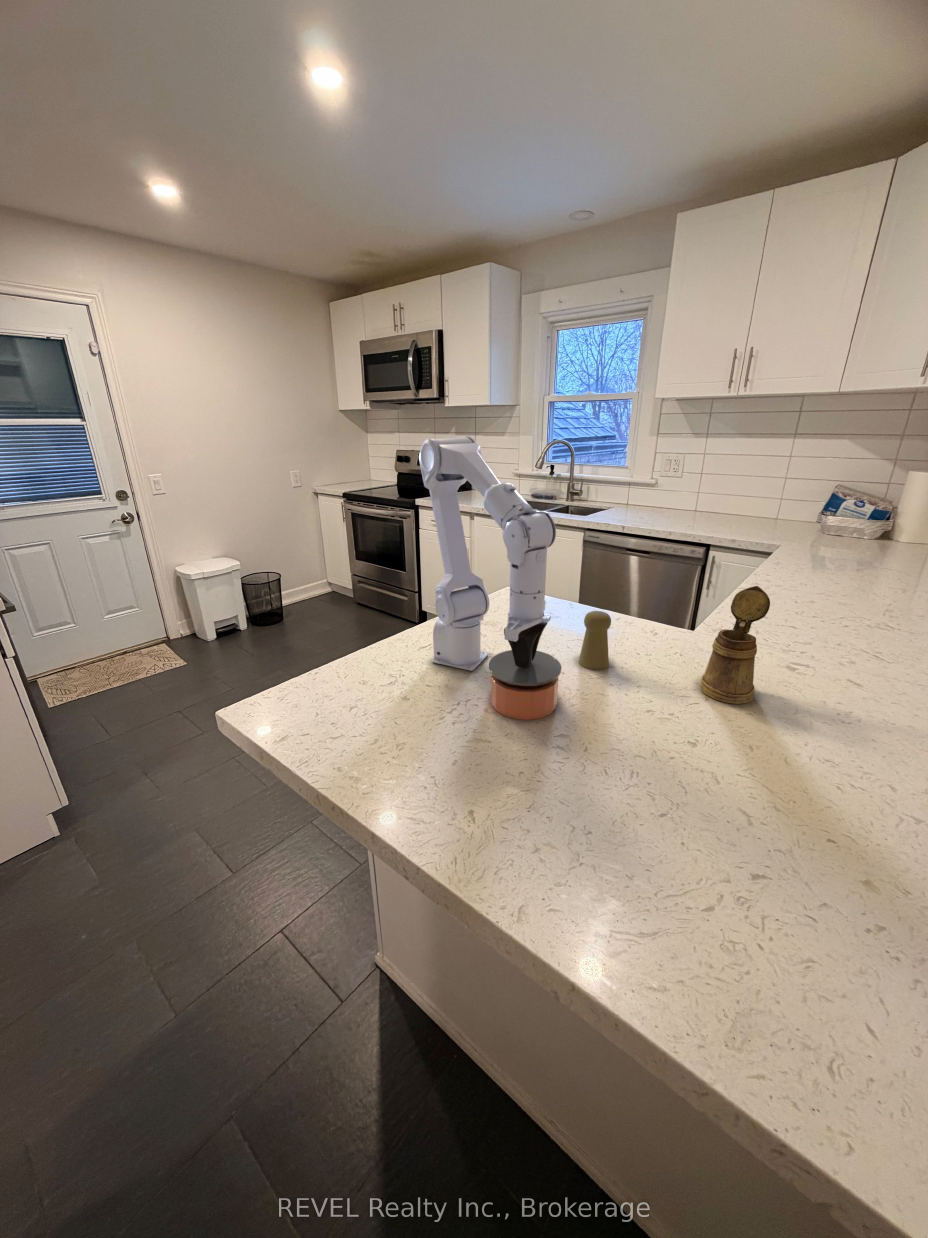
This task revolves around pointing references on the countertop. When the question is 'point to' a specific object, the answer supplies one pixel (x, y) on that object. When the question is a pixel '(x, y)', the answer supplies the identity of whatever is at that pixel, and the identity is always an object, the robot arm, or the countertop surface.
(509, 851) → the countertop surface
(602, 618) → the olive green pepper mill
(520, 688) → the terracotta bowl
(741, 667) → the wooden mug
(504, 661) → the lid
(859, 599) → the countertop surface
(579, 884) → the countertop surface
